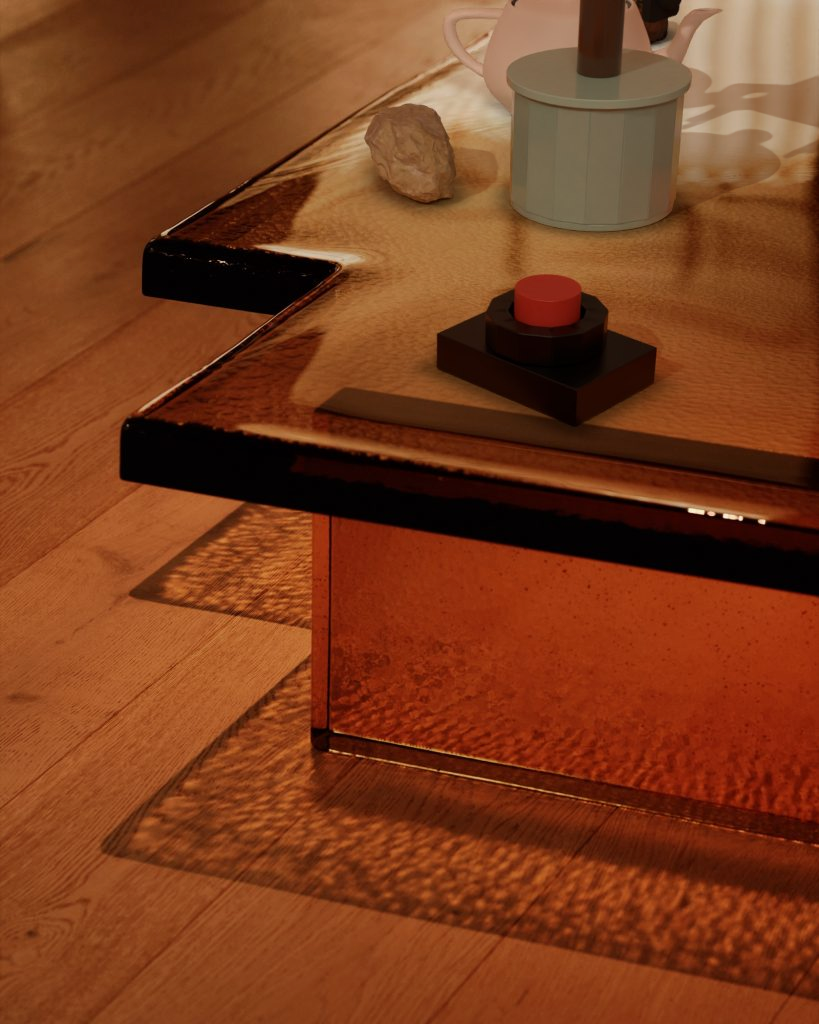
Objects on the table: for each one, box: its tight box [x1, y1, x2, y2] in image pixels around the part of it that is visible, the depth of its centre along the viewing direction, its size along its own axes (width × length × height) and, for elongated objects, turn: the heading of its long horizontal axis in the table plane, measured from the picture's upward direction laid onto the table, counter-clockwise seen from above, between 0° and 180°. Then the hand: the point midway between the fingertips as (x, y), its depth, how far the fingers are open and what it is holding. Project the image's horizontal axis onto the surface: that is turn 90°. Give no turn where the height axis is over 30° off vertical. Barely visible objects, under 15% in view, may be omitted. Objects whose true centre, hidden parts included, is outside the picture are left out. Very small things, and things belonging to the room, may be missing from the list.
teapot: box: [442, 0, 724, 113], centre depth 127 cm, size 22×14×11 cm, turn 78°
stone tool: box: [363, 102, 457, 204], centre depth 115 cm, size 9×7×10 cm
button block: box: [436, 288, 658, 427], centre depth 88 cm, size 10×7×4 cm
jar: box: [508, 90, 685, 233], centre depth 110 cm, size 11×11×8 cm
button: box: [514, 273, 583, 327], centre depth 87 cm, size 4×4×2 cm
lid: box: [506, 0, 693, 109], centre depth 106 cm, size 12×12×7 cm
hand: (600, 4), depth 105 cm, fingers open, 9 cm apart
